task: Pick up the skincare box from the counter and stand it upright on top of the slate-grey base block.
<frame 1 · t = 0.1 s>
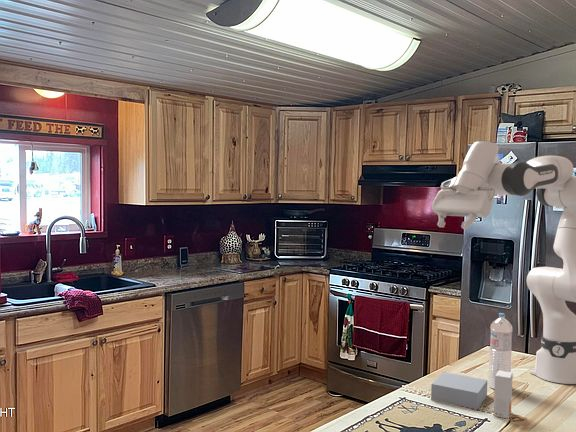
hand: (451, 227, 164), 54 cm above the table, tool tilted 30°, fingers open, 8 cm apart
skincare box: (502, 414, 160), on the table
base block: (459, 397, 172), on the table
water bottle: (499, 388, 182), on the table
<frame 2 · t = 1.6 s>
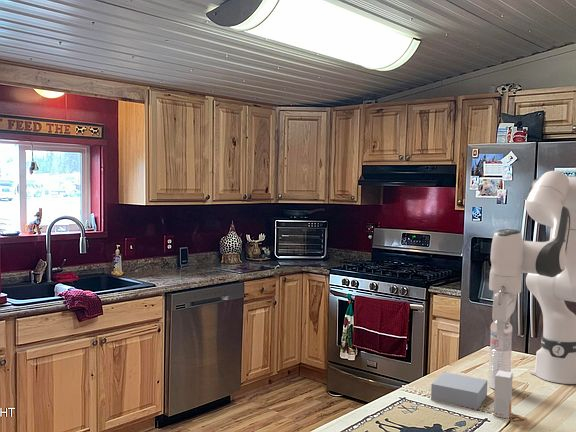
hand: (502, 331, 159), 24 cm above the table, tool pointing down, fingers open, 8 cm apart
nothing on the table moved.
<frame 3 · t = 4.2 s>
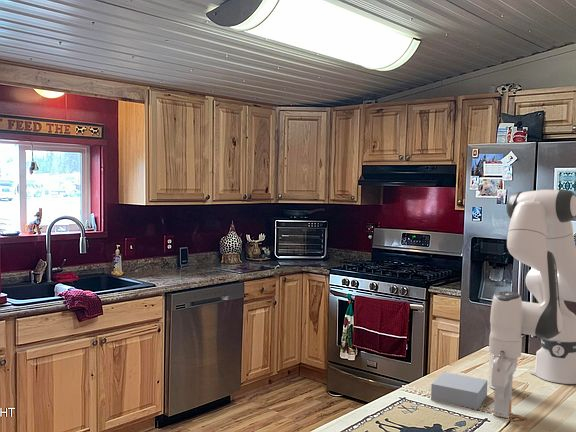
hand: (503, 394, 160), 6 cm above the table, tool pointing down, fingers closed on skincare box, 6 cm apart
skincare box: (502, 414, 160), on the table, touching gripper
everything else where it was.
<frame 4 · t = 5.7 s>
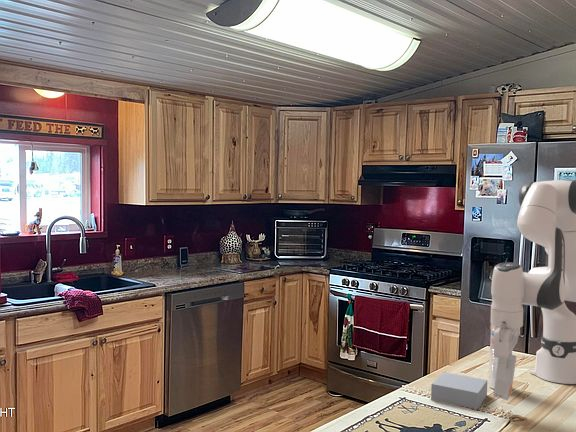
hand: (505, 365, 160), 14 cm above the table, tool pointing down, fingers closed on skincare box, 6 cm apart
skincare box: (502, 396, 161), point 5 cm above the table, touching gripper
everything else where it was.
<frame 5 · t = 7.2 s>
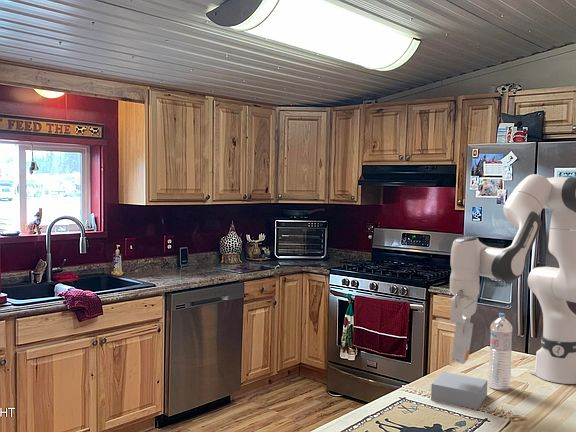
hand: (462, 331, 171), 21 cm above the table, tool pointing down, fingers closed on skincare box, 6 cm apart
skincare box: (459, 360, 172), point 12 cm above the table, touching gripper
everything else where it was.
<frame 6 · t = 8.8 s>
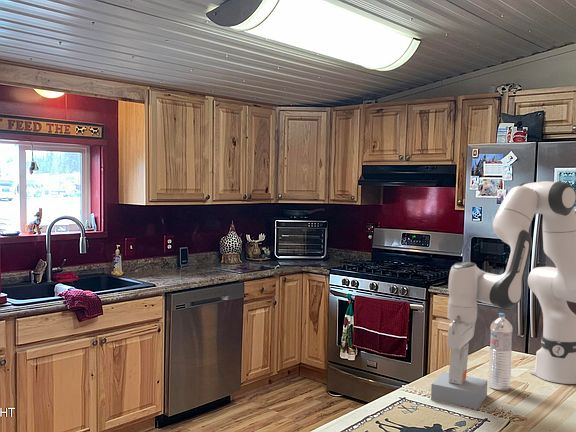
hand: (460, 357, 172), 13 cm above the table, tool pointing down, fingers closed on skincare box, 6 cm apart
skincare box: (457, 381, 173), point 5 cm above the table, touching base block, gripper
everything else where it was.
when the fingers open (12 cm above the table, at t = 10.0 s): skincare box stays where it is, resting on base block.
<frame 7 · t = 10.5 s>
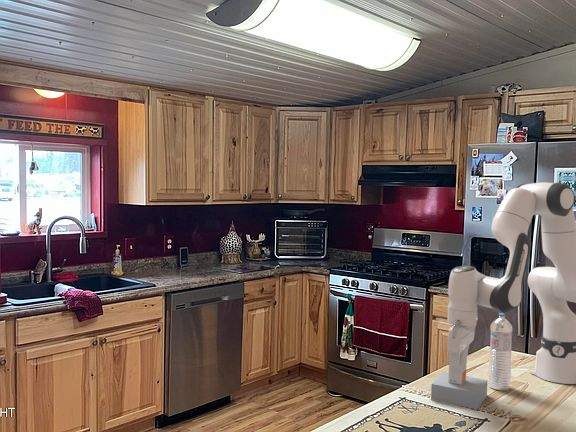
hand: (460, 361, 172), 12 cm above the table, tool pointing down, fingers open, 8 cm apart
skincare box: (457, 382, 173), point 5 cm above the table, touching base block
everything else where it was.
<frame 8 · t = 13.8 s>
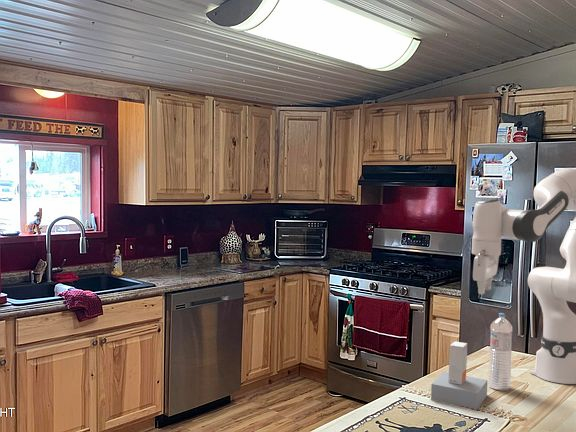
hand: (484, 291, 175), 33 cm above the table, tool pointing down, fingers open, 8 cm apart
nothing on the table moved.
at the end: skincare box inside the target area on the base block (0.8 cm from its centre), point 4.8 cm above the base block's base; skincare box tilted 0°; the gripper is holding nothing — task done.
